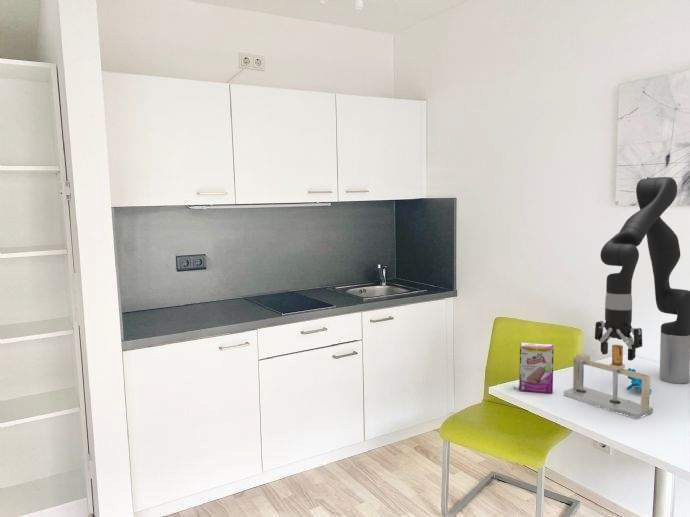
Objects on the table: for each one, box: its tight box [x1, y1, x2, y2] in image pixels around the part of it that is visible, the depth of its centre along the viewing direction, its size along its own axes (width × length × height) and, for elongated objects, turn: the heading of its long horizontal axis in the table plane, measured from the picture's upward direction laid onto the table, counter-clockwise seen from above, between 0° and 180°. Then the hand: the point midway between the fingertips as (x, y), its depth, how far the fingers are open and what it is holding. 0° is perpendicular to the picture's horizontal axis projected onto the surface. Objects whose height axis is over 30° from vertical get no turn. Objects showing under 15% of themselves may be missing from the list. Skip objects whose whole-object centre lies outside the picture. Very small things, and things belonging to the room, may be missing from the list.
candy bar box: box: [518, 342, 555, 394], centre depth 183 cm, size 11×5×16 cm, turn 71°
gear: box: [626, 367, 653, 393], centre depth 180 cm, size 11×6×10 cm
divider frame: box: [563, 353, 654, 420], centre depth 169 cm, size 9×25×14 cm, turn 31°
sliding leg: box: [609, 344, 626, 401], centre depth 167 cm, size 3×3×18 cm
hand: (617, 356), depth 166 cm, fingers open, 8 cm apart
